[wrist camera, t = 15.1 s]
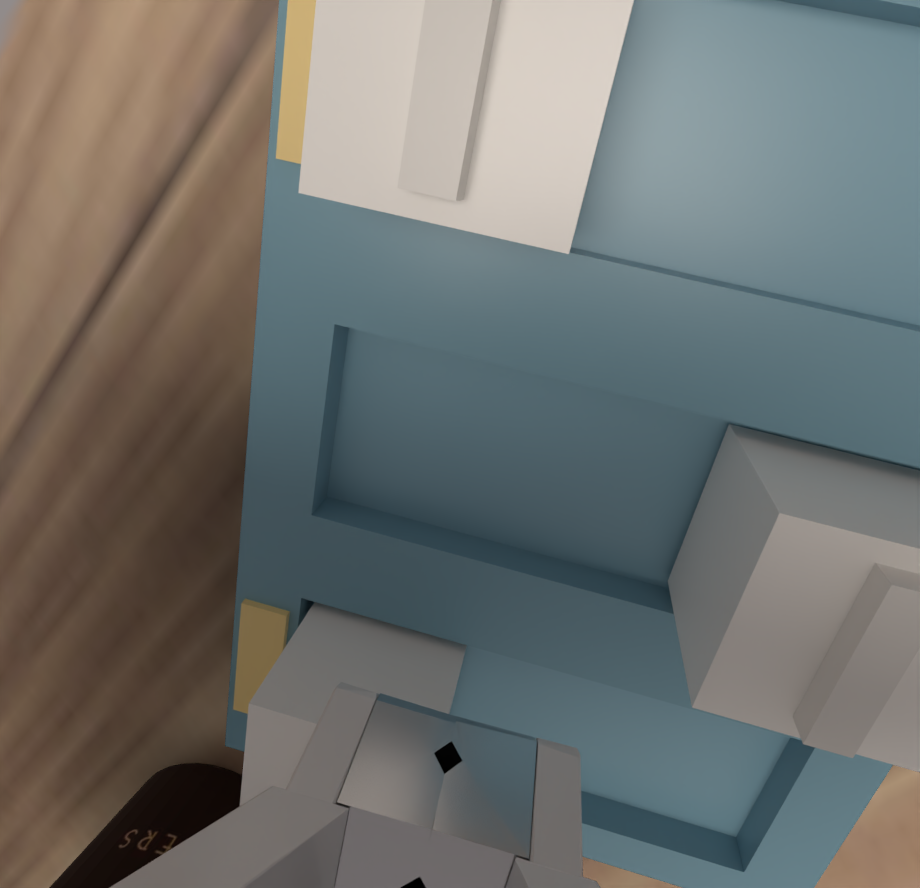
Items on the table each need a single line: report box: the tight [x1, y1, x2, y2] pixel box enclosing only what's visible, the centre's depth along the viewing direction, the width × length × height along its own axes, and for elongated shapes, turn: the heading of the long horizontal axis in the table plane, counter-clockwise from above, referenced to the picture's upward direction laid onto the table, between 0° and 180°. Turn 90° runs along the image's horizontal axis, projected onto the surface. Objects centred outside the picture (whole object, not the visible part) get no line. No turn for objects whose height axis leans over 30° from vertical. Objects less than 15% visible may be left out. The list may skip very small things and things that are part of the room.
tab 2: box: [668, 424, 920, 772], centre depth 12 cm, size 4×4×5 cm
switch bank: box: [225, 0, 920, 888], centre depth 15 cm, size 21×16×3 cm
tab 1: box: [240, 602, 467, 806], centre depth 16 cm, size 4×4×5 cm
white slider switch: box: [298, 0, 634, 254], centre depth 10 cm, size 4×4×5 cm
